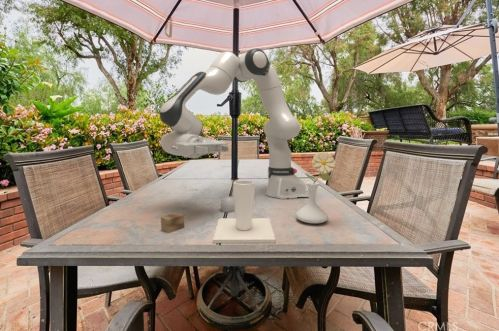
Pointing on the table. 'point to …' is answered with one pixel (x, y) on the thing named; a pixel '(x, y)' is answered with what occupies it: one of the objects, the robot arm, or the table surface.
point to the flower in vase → (312, 210)
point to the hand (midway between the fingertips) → (218, 149)
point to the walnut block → (172, 222)
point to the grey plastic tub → (227, 204)
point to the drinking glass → (243, 203)
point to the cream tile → (244, 232)
